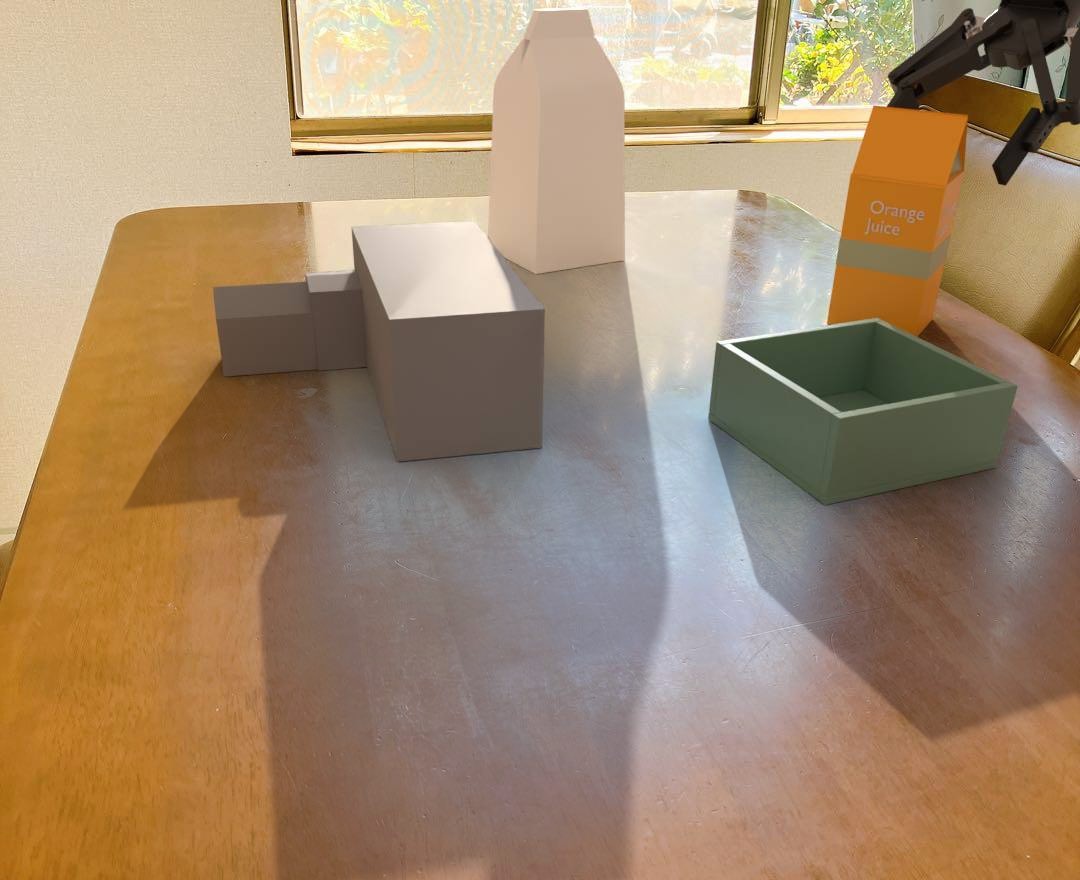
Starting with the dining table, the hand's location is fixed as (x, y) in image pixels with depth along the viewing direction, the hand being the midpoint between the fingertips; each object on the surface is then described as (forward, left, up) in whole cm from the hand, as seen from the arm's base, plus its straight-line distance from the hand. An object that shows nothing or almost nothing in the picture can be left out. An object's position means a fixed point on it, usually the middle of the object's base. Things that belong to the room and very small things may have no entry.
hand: (934, 162), depth 104 cm
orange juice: (-1, +4, -15) cm, 16 cm away
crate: (-23, +25, -15) cm, 37 cm away
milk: (+32, +25, -15) cm, 43 cm away
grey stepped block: (-1, +57, -15) cm, 59 cm away
